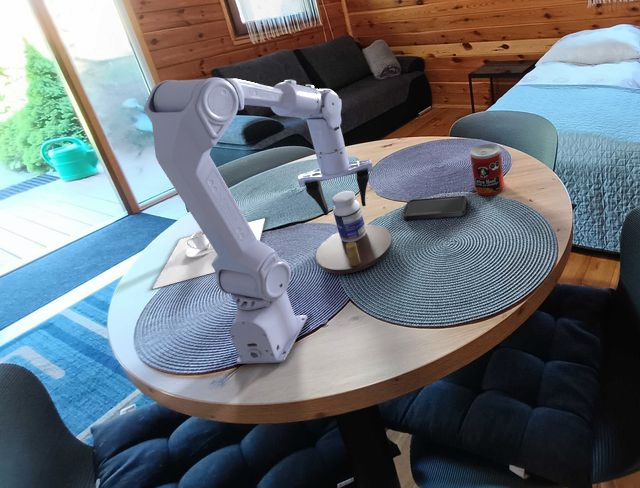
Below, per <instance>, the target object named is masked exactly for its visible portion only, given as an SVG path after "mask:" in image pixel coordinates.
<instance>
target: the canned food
mask: <svg viewBox="0 0 640 488" xmlns="http://www.w3.org/2000/svg"><path fill="white" fill-rule="evenodd" d="M501 152H502V151H501V147H500V146H499V145H497V144H493V143H484V144H479V145H476V146H474V147H473V148H471V149H470V151H469V157H470V165H471V171H472V172H471V173H472V179H473V186H474V191H475V192H476V193H477V194H478V195H481V196H494V195H497V194H499V193H500V192H502V191H503V190H504V187H505V179H504V170H503V169H504V168H503V160H502V153H501Z"/></svg>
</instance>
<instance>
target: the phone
mask: <svg viewBox="0 0 640 488" xmlns="http://www.w3.org/2000/svg"><path fill="white" fill-rule="evenodd" d="M467 199H468V198H467V196H465V195H457V196H455V195H454V196H444V197H442V196H441V197H427V198H415V199H414V198H413V199H409V200H407V202H406V204H405V206H404V209H403V212H402V218H403V220H405V221H410V220H426V219H439V218H440V219H441V218H452V217H453V218H455V217H463V216H465V215H466V211H467V203H468V201H467Z"/></svg>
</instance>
